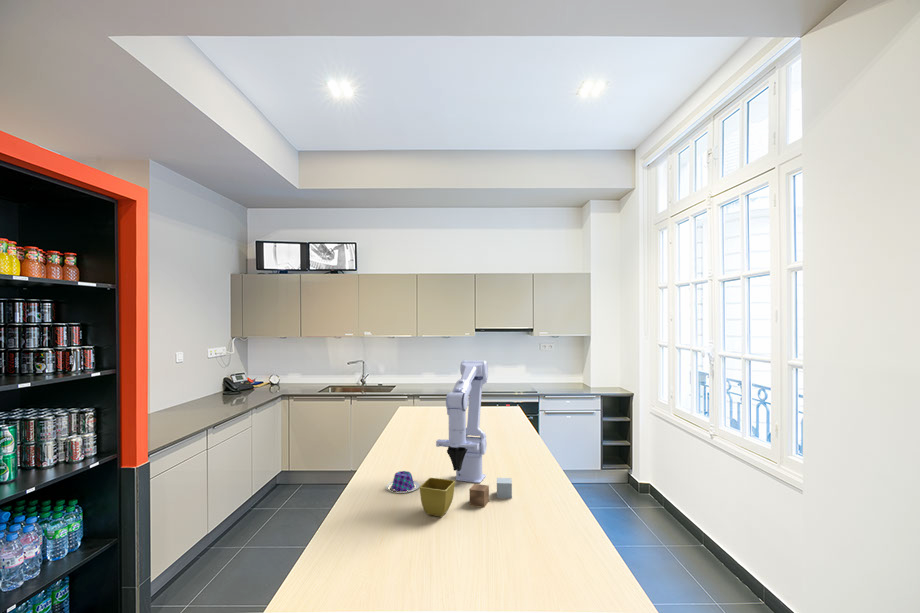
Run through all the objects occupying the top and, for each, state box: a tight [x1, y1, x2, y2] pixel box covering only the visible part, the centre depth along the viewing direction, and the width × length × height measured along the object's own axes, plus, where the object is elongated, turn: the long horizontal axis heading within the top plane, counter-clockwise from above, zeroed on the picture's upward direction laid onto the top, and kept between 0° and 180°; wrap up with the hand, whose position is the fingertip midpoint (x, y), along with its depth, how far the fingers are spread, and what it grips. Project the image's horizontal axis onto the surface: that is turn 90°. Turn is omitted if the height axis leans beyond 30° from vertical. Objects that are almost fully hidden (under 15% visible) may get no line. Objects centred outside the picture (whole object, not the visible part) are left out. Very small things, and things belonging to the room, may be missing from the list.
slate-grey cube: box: [496, 477, 513, 499], centre depth 151 cm, size 5×5×5 cm
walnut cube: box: [469, 483, 490, 508], centre depth 145 cm, size 5×5×5 cm
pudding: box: [385, 470, 421, 494], centre depth 159 cm, size 12×12×5 cm
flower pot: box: [419, 477, 456, 518], centre depth 138 cm, size 9×9×9 cm
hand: (457, 469), depth 147 cm, fingers closed
